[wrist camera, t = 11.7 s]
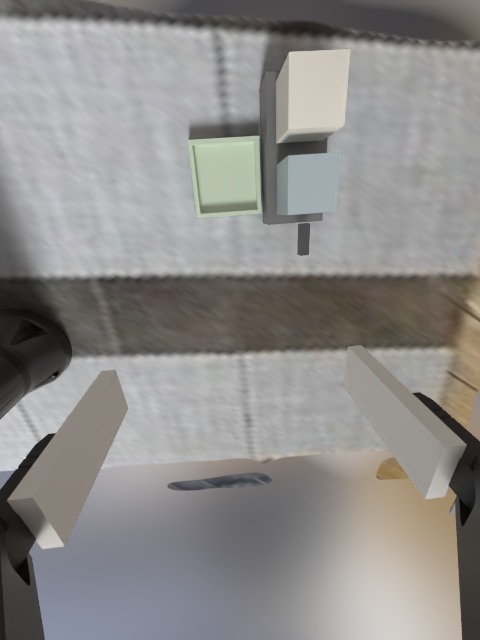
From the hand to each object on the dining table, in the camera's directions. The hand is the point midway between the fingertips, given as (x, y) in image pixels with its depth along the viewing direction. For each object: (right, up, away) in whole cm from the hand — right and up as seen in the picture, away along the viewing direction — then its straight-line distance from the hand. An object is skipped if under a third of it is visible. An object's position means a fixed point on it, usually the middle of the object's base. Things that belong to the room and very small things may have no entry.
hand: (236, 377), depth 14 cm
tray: (-2, +25, +24) cm, 34 cm away
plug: (+7, +31, +21) cm, 38 cm away
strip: (+8, +26, +24) cm, 36 cm away
